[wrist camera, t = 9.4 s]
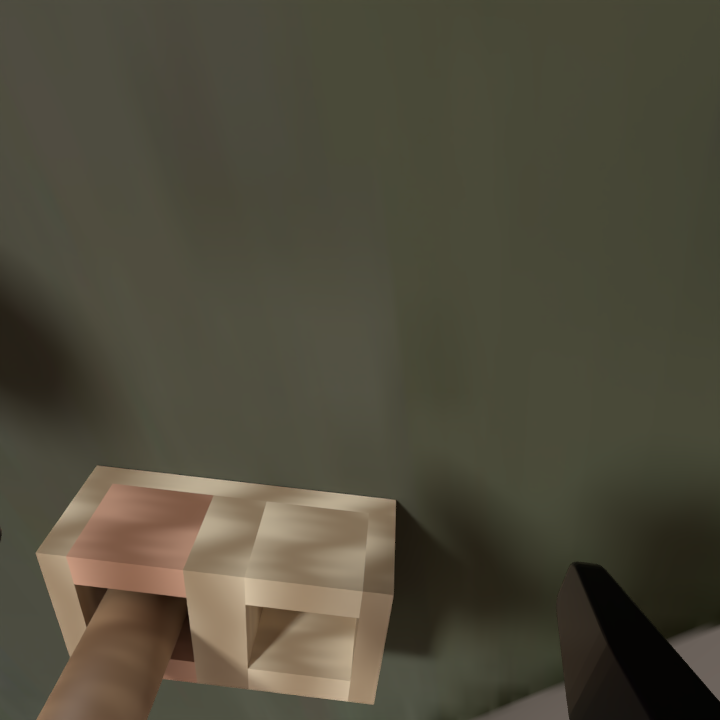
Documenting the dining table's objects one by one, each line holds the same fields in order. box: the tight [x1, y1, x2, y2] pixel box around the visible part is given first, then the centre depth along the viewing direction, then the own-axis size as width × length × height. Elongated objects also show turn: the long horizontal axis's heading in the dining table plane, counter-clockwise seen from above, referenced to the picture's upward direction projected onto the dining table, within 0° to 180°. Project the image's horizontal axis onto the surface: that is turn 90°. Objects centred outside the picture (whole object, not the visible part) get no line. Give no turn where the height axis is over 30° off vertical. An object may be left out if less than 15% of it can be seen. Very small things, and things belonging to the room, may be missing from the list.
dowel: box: [37, 588, 188, 720], centre depth 23 cm, size 4×4×10 cm
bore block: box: [36, 466, 396, 705], centre depth 26 cm, size 14×8×5 cm, turn 85°
